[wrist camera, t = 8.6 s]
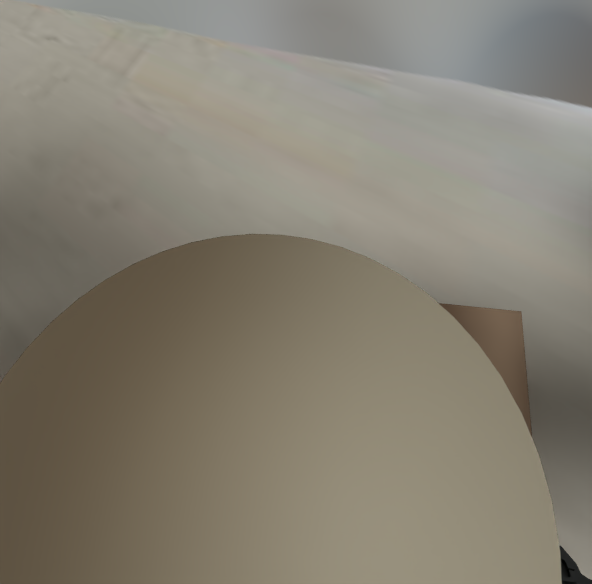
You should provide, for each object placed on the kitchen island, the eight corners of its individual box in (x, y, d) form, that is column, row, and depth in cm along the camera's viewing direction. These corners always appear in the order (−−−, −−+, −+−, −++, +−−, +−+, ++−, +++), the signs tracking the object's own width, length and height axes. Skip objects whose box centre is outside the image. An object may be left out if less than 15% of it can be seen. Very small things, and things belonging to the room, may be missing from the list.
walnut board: (502, 327, 28) (521, 311, 25) (530, 762, 19) (564, 812, 16) (202, 295, 31) (189, 278, 28) (105, 657, 22) (73, 683, 19)
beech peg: (375, 425, 16) (534, 250, 3) (366, 554, 14) (638, 1188, 2) (267, 409, 17) (65, 212, 4) (246, 531, 15) (-237, 865, 2)
